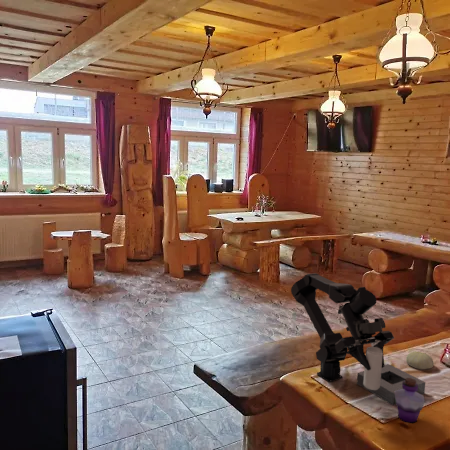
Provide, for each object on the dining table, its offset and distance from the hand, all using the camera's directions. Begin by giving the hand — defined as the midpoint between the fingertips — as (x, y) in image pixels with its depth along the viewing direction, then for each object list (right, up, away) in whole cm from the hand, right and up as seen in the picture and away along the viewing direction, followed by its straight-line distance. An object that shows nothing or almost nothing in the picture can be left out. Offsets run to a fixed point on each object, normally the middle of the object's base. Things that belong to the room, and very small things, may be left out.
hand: (376, 368), depth 134 cm
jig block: (+10, -11, +15) cm, 21 cm away
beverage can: (-1, -6, +2) cm, 7 cm away
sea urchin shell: (+27, -10, +33) cm, 44 cm away
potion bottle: (+9, -14, -2) cm, 17 cm away
